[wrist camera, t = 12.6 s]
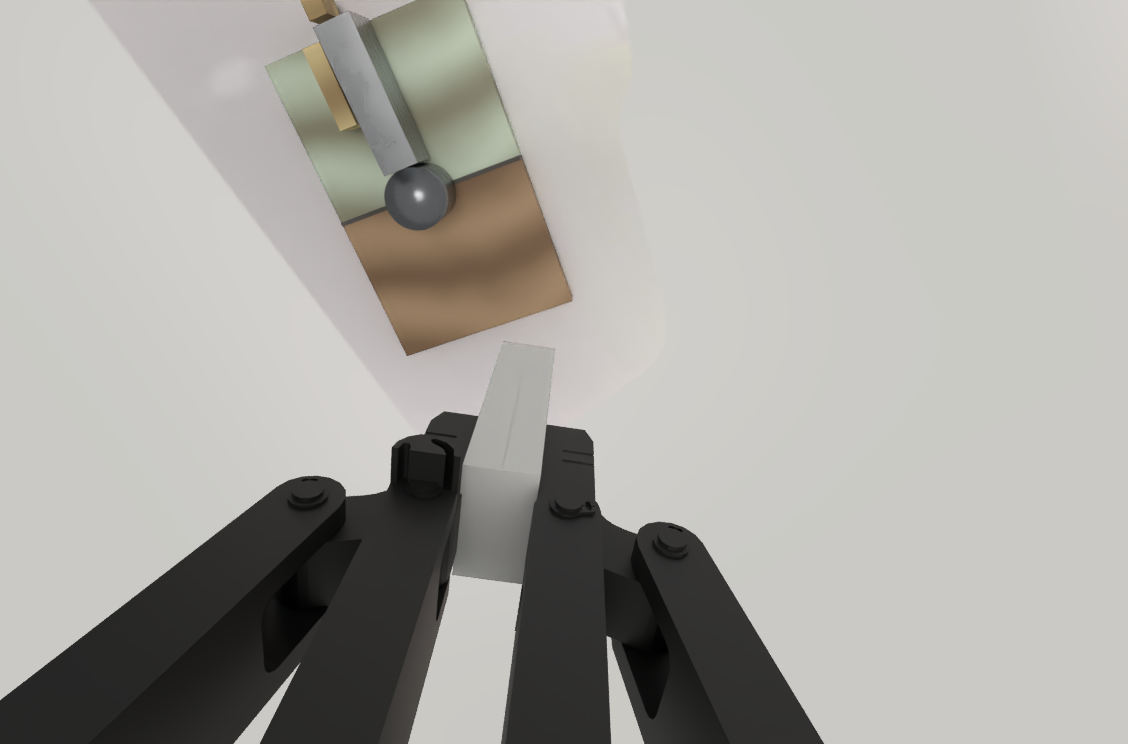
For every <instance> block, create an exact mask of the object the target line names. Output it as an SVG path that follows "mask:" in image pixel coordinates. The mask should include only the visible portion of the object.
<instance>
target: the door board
mask: <svg viewBox="0 0 1128 744" xmlns="http://www.w3.org/2000/svg"><path fill="white" fill-rule="evenodd" d="M300 1H301V3H302V5H303V8H304V10H305V12H306V14H307V16H308V19H309V21H311V22H315V23H318V24H321V23H324V22H326V21H328V20H330V19H332V18H334V17H336V16H338V15H340V13H339V11H338V9H337V6H336V4H335V2H334V0H300ZM370 23H371V25H372V27H373V29H374V32H375V34H376V36H377V38H378V41H379V43H380V45H381V47H382V50H383V52H384V54H385V56H386V59H387V61H388V63H389V65H390V68H391V70H392V72H393V74H394V77H395V79H396V81H397V83H398V86H399V88H400V90H401V92H402V95H403V97H404V99H405V101H406V104H407V106H408V108H409V110H410V113H411V115H412V117H413V119H414V122H415V124H416V126H417V128H418V131H419V133H420V135H421V137H422V140H423V142H424V144H425V146H426V149H427V151H428V153H429V155H430V159H428V160H425V161H423V162H420V163H433V164H436V165H438V166H440V167H442V168H443V169H444V170H445V171H447V172H448V174H449V175H450V176H451V178H452V180H453V181H454V184H455V188H456V201H455V204H454V207H453V209H452V210H451V211H450V213H449V214H448V215H446V216H445V217H444V218H443V219H441V220H440V221H439V222H438V223H437V224H435V225H434V226H432V227H431V228H429V229H426V230H420V231H416V230H410V229H407V228H405V227H403V226H401V225H399V224H398V223H397V222H396V221H395V220H394V219H393V218H392V217H391V215H390V214H389V212H388V210H387V208H386V205H385V200H384V192H385V187H386V184H387V182H388V180H389V179H390V178H391V176H392V175H393V174H394V173H393V174H390V175H388V176H385V177H384V175H383V173H382V171H381V169H380V167H379V165H378V163H377V160H376V158H375V156H374V154H373V152H372V150H371V148H370V146H369V144H368V142H367V140H366V137H365V135H364V133H363V131H362V129H361V127H360V125H359V123H358V121H357V119H356V117H355V115H354V112H353V110H352V108H351V106H350V104H349V102H348V100H347V98H346V96H345V94H344V92H343V89H342V87H341V85H340V83H339V81H338V79H337V77H336V75H335V73H334V71H333V69H332V66H331V64H330V62H329V60H328V58H327V56H326V54H325V52H324V50H323V48H322V46H321V43H320V42H318V43H316V44H313V45H311V46H309V47H306V48H304V49H302V50H301V51H299V52H296V53H294V54H292V55H289V56H287V57H285V58H283V59H280V60H278V61H276V62H273V63H271V64H269V65H266V66H265V68H266V70H267V72H268V74H269V77H270V79H271V81H272V83H273V85H274V87H275V89H276V91H277V93H278V95H279V97H280V99H281V101H282V103H283V105H284V107H285V109H286V111H287V113H288V115H289V117H290V119H291V121H292V123H293V125H294V127H295V129H296V131H297V133H298V135H299V137H300V139H301V142H302V144H303V146H304V148H305V150H306V152H307V154H308V156H309V158H310V160H311V162H312V164H313V166H314V168H315V170H316V172H317V174H318V176H319V178H320V180H321V182H322V184H323V186H324V188H325V190H326V192H327V194H328V196H329V198H330V200H331V202H332V204H333V206H334V209H335V211H336V213H337V215H338V217H339V219H340V221H341V224H342V226H343V227H344V229H345V231H346V233H347V235H348V237H349V239H350V241H351V243H352V245H353V247H354V249H355V251H356V253H357V255H358V257H359V259H360V261H361V263H362V265H363V267H364V269H365V271H366V273H367V276H368V278H369V280H370V282H371V284H372V286H373V288H374V290H375V292H376V294H377V296H378V298H379V300H380V302H381V304H382V306H383V308H384V310H385V312H386V314H387V316H388V318H389V320H390V322H391V324H392V326H393V328H394V330H395V332H396V334H397V336H398V338H399V341H400V343H401V345H402V347H403V349H404V351H405V353H406V355H407V356H408V355H411V354H415V353H418V352H421V351H424V350H427V349H430V348H433V347H436V346H439V345H442V344H445V343H448V342H451V341H454V340H457V339H460V338H463V337H466V336H469V335H472V334H475V333H478V332H481V331H484V330H487V329H490V328H493V327H496V326H499V325H502V324H505V323H508V322H511V321H514V320H517V319H520V318H523V317H526V316H529V315H532V314H535V313H538V312H541V311H544V310H547V309H550V308H553V307H556V306H559V305H562V304H565V303H568V302H571V301H572V294H571V292H570V289H569V286H568V283H567V281H566V278H565V275H564V272H563V269H562V267H561V264H560V261H559V258H558V256H557V253H556V250H555V247H554V244H553V242H552V239H551V236H550V233H549V231H548V228H547V225H546V222H545V220H544V217H543V214H542V211H541V208H540V206H539V203H538V200H537V197H536V195H535V192H534V189H533V186H532V183H531V181H530V178H529V175H528V172H527V170H526V167H525V164H524V161H523V159H522V156H521V153H520V150H519V147H518V145H517V142H516V139H515V136H514V134H513V131H512V128H511V125H510V122H509V120H508V117H507V114H506V111H505V109H504V106H503V103H502V100H501V98H500V95H499V92H498V89H497V86H496V84H495V81H494V78H493V75H492V73H491V70H490V67H489V64H488V61H487V59H486V56H485V53H484V50H483V48H482V45H481V42H480V39H479V37H478V34H477V31H476V28H475V25H474V23H473V20H472V17H471V14H470V12H469V9H468V6H467V3H466V0H416V1H413V2H411V3H409V4H407V5H404V6H402V7H400V8H397V9H395V10H393V11H390V12H388V13H386V14H384V15H381V16H379V17H377V18H374V19H372V20H370ZM418 164H419V163H418Z"/></svg>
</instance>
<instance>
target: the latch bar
mask: <svg viewBox="0 0 1128 744" xmlns="http://www.w3.org/2000/svg"><path fill="white" fill-rule="evenodd" d="M313 29H314V31H315V33H316V35H317V37H318V39H319V41H320V43H321V46H322V48H323V50H324V52H325V54H326V56H327V58H328V60H329V62H330V64H331V66H332V69H333V71H334V73H335V75H336V77H337V79H338V81H339V83H340V85H341V87H342V89H343V92H344V94H345V96H346V98H347V100H348V102H349V104H350V106H351V108H352V110H353V112H354V115H355V117H356V119H357V121H358V123H359V125H360V127H361V129H362V131H363V133H364V135H365V137H366V140H367V142H368V144H369V146H370V148H371V150H372V152H373V154H374V156H375V158H376V160H377V163H378V165H379V167H380V169H381V171H382V173H383V175H384V177H385V176H388V175H390V174H393V173H394V174H393V175H392V176H391V178H390V179H389V180H388V182H387V184H386V187H385V192H384V200H385V205H386V208H387V210H388V212H389V214H390V215H391V217H392V218H393V219H394V220H395V221H396V222H397V223H398V224H399V225H401V226H403V227H405V228H407V229H410V230H416V231H420V230H426V229H429V228H431V227H432V226H434V225H435V224H437V223H438V222H439V221H440V220H441V219H443V218H444V217H445V216H446V215H448V214H449V213H450V211H451V210H452V209H453V207H454V204H455V201H456V188H455V184H454V181H453V180H452V178H451V176H450V175H449V174H448V172H447V171H445V170H444V169H443V168H442V167H440V166H438V165H436V164H433V163H420V162H423V161H425V160H428V159H430V155H429V153H428V151H427V149H426V146H425V144H424V142H423V140H422V137H421V135H420V133H419V131H418V128H417V126H416V124H415V122H414V119H413V117H412V115H411V113H410V110H409V108H408V106H407V104H406V101H405V99H404V97H403V95H402V92H401V90H400V88H399V86H398V83H397V81H396V79H395V77H394V74H393V72H392V70H391V68H390V65H389V63H388V61H387V59H386V56H385V54H384V52H383V50H382V47H381V45H380V43H379V41H378V38H377V36H376V34H375V32H374V29H373V27H372V25H371V23H370V20H369V19H368V18H365V17H363V16H360V15H358V14H355V13H353V12H351V11H347V12H344V13H342V14H340V15H338V16H336V17H334V18H332V19H330V20H328V21H326V22H324V23H321V24H319V25H317V26H315V27H313ZM418 163H419V164H418Z"/></svg>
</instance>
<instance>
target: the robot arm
mask: <svg viewBox="0 0 1128 744" xmlns="http://www.w3.org/2000/svg"><path fill="white" fill-rule="evenodd" d="M554 351H555V349H553V348H546V347H539V346H533V345H526V344H519V343H512V342H506V341H504V342H503V345H502V348H501V351H500V354H499V357H498V360H497V363H496V366H495V369H494V372H493V375H492V378H491V381H490V384H489V387H488V390H487V393H486V396H485V399H484V402H483V405H482V408H481V411H480V414H479V416H473V415H466V414H459V413H452V412H445V411H444V412H443V413H441V414H440V415H438V416H437V417H435V418H434V419H432V420H431V422H430V424H429V426H428V428H427V430H426V433H425V434H424V435H422V434H421V435H415V436H409V437H406V438H404V439H402V440H399V441H398V442H397V443H396V444H395V445H394V446H393V447H392V457H391V483H390V485H389V488H388V490H387V491H384V492H380V493H377V494H371V495H364V496H349V497H346V494H345V493H346V490H345V489H344V487H343V486H342V485H341V484H340V483H339V482H337V481H335V480H333V479H331V478H327V477H321V476H305V477H299V478H296V479H292V480H289V481H287V482H285V483H283V484H281V485H279V486H278V487H276V488H275V489H274V490H272V491H271V492H270V493H269V494H267V495H266V496H264V497H263V498H262V499H261V500H259V501H258V502H257V503H255V504H254V505H253V506H252V507H250V508H249V509H248V510H246V511H245V512H244V513H242V514H241V515H240V516H239V517H237V518H236V519H235V520H233V521H232V522H231V523H229V524H228V525H227V526H226V527H224V528H223V529H222V530H220V531H219V532H218V533H217V534H215V535H214V536H213V537H211V538H210V539H209V540H208V541H206V542H205V543H204V544H202V545H201V546H200V547H198V548H197V549H196V550H194V551H193V552H192V553H191V554H189V555H188V556H187V557H185V558H184V559H183V560H182V561H180V562H179V563H178V564H176V565H175V566H174V567H173V568H171V569H170V570H169V571H167V572H166V573H165V574H163V575H162V576H161V577H159V578H158V579H157V580H156V581H155V582H153V583H152V584H150V585H149V586H148V587H146V588H145V589H144V590H143V591H141V592H140V593H139V594H138V595H136V596H135V597H134V598H132V599H131V600H130V601H128V602H127V603H126V604H124V605H123V606H122V607H121V608H119V609H118V610H117V611H115V612H114V613H113V614H111V615H110V616H109V617H108V618H106V619H105V620H104V621H102V622H101V623H100V624H99V625H97V626H96V627H95V628H93V629H92V630H91V631H89V632H88V633H87V634H86V635H84V636H83V637H82V638H80V639H79V640H78V641H77V642H75V643H74V644H73V645H71V646H70V647H69V648H67V649H66V650H65V651H64V652H62V653H61V654H60V655H58V656H57V657H56V658H55V659H53V660H52V661H50V662H49V663H48V664H47V665H45V666H44V667H43V668H41V669H40V670H39V671H38V672H36V673H35V674H34V675H32V676H31V677H30V678H28V679H27V680H26V681H25V682H23V683H22V684H21V685H20V686H18V687H17V688H16V689H14V690H13V691H12V692H10V693H9V694H8V695H7V696H5V697H4V698H3V699H1V700H0V744H233V743H234V742H235V741H236V740H237V739H238V737H239V736H240V735H241V734H242V733H243V731H244V730H245V729H246V728H247V727H248V725H249V724H250V723H251V722H252V720H253V719H254V718H255V717H256V716H257V714H258V713H259V712H260V711H261V710H262V708H263V707H264V706H265V705H266V703H267V702H268V701H269V700H270V699H271V697H272V696H273V695H274V694H275V692H276V691H277V690H278V689H279V688H280V686H281V685H282V684H283V683H284V681H285V680H286V679H287V678H288V677H289V676H290V674H291V673H292V672H293V671H294V669H295V668H296V667H297V666H298V665H299V663H300V662H301V663H300V665H299V667H298V669H297V671H296V673H295V675H294V677H293V679H292V681H291V683H290V684H289V686H288V689H287V690H286V692H285V695H284V696H283V698H282V700H281V703H280V704H279V707H278V708H277V710H276V712H275V714H274V716H273V718H272V720H271V722H270V724H269V726H268V728H267V730H266V732H265V734H264V736H263V738H262V740H261V742H260V744H408V741H409V738H410V734H411V730H412V726H413V723H414V719H415V715H416V712H417V707H418V704H419V700H420V697H421V693H422V689H423V686H424V682H425V678H426V675H427V671H428V667H429V663H430V660H431V656H432V652H433V649H434V645H435V641H436V637H437V634H438V630H439V626H440V622H441V619H442V615H443V611H444V607H445V604H446V600H447V596H448V591H449V580H450V573H451V569H452V566H453V573H452V575H458V576H465V577H473V578H480V579H487V580H495V581H502V582H510V583H517V584H522V589H521V596H520V602H519V608H518V615H517V621H516V627H515V631H516V633H515V640H514V648H513V656H512V664H511V671H510V679H509V687H508V695H507V703H506V710H505V718H504V726H503V734H502V741H501V744H611V732H610V708H609V686H608V662H607V639H606V636H608V637H611V639H612V647H613V651H614V654H615V657H616V660H617V663H618V666H619V669H620V671H621V674H622V678H623V681H624V683H625V687H626V690H627V693H628V696H629V699H630V702H631V705H632V708H633V711H634V714H635V717H636V720H637V723H638V726H639V728H640V731H641V735H642V738H643V741H644V744H824V743H823V741H822V740H821V738H820V736H819V735H818V733H817V731H816V730H815V728H814V726H813V725H812V723H811V721H810V720H809V718H808V716H807V715H806V713H805V711H804V710H803V708H802V707H801V705H800V703H799V702H798V700H797V698H796V697H795V695H794V693H793V692H792V690H791V688H790V687H789V685H788V683H787V682H786V680H785V678H784V677H783V675H782V673H781V672H780V670H779V668H778V667H777V665H776V664H775V662H774V660H773V659H772V657H771V655H770V654H769V652H768V650H767V649H766V647H765V645H764V644H763V642H762V640H761V639H760V637H759V635H758V634H757V632H756V631H755V629H754V627H753V626H752V624H751V622H750V621H749V619H748V617H747V616H746V614H745V612H744V611H743V609H742V607H741V606H740V604H739V602H738V601H737V599H736V597H735V596H734V594H733V592H732V591H731V589H730V588H729V586H728V584H727V583H726V581H725V579H724V578H723V576H722V574H721V573H720V571H719V569H718V568H717V566H716V564H715V563H714V561H713V559H712V558H711V556H710V555H709V553H708V551H707V550H706V548H705V546H704V545H703V543H702V542H701V541H700V540H699V539H698V537H697V536H696V535H695V534H693V533H691V532H690V531H689V530H687V529H685V528H684V527H681V526H678V525H675V524H672V523H665V522H655V523H648V524H646V525H645V526H643V527H642V528H640V529H639V532H638V534H635V533H632V532H629V531H627V530H624V529H622V528H620V527H618V526H615V525H614V524H612V523H611V522H609V521H607V520H606V519H605V518H604V517H603V516H602V515H601V511H600V508H599V505H598V504H597V502H596V501H595V479H594V456H593V454H594V451H593V441H592V440H591V438H590V437H589V436H588V434H587V433H586V431H585V430H580V429H573V428H566V427H560V426H553V425H546V424H547V415H548V405H549V396H550V387H551V378H552V369H553V360H554Z"/></svg>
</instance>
